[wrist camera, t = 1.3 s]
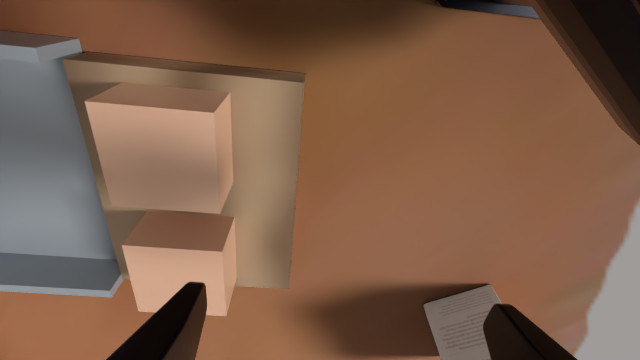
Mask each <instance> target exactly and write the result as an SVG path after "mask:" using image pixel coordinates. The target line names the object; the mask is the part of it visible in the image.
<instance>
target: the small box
mask: <svg viewBox="0 0 640 360" xmlns="http://www.w3.org/2000/svg"><path fill="white" fill-rule="evenodd" d="M496 303H501V304H502V302H501V301H500V299H499V297H498V296H497V294H496V292H495V290H494V288H493V287H492V285H486V286H483V287H479V288H476V289H473V290H470V291H466V292H463V293H459V294H456V295H452V296H449V297H445V298H442V299H439V300H435V301H432V302H429V303H426V304H424V309H425V313H426V316H427V319H428V322H429V325H430V328H431V331H432V334H433V337H434V340H435V343H436V346H437V349H438V352H439V355H440V358H441V360H491V358H490V354H489V350H488V347H487V343H486V339H485V335H484V332H483V323H484V320H485V319H486V317H487V315H488V313H489V311H490V310H491V308H492V306H493V305H494V304H496Z"/></svg>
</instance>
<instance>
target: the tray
mask: <svg viewBox="0 0 640 360" xmlns="http://www.w3.org/2000/svg"><path fill="white" fill-rule="evenodd" d="M79 54H82V48H81V44H80V40H79V38H70V37H61V36H51V35H41V34H31V33H21V32H11V31H2V30H0V291H8V292H26V293H44V294H62V295H80V296H98V297H112V296H113V295H114V293H115V292H116V290H117V289H118V287H119V286H120V284H121V283H122V281H123V280H124V279H122V275H121V271H120V268H119V264H118V260H117V257H116V253H115V250H114V246H113V242H112V239H111V235H110V231H109V228H108V224H107V220H106V217H105V213H104V209H103V206H102V202H101V198H100V195H99V191H98V187H97V184H96V180H95V176H94V173H93V169H92V165H91V162H90V158H89V154H88V151H87V147H86V144H85V140H84V136H83V133H82V129H81V125H80V122H79V118H78V114H77V111H76V107H75V103H74V100H73V96H72V92H71V89H70V85H69V81H68V78H67V74H66V70H65V67H64V63H63V59H65V58H68V57H72V56H75V55H79Z"/></svg>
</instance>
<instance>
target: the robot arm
mask: <svg viewBox="0 0 640 360" xmlns="http://www.w3.org/2000/svg"><path fill="white" fill-rule="evenodd" d="M435 2H436V3H437V4H438V6H441V7H446V8H455V9H464V10H472V11H481V12H490V13H499V14H507V15H516V16H525V17H533V18H540V19H541V20H542V22H543V23H544V24H545V26H546V27H547V29H548V30H549V31H550V33H551V34H552V35H553V37H554V38H555V40H556V41H557V42H558V44H559V45H560V46H561V48H562V49H563V51H564V52H565V53H566V55H567V56H568V57H569V59H570V60H571V62H572V63H573V64H574V66H575V67H576V68H577V70H578V71H579V72H580V74H581V75H582V77H583V78H584V79H585V81H586V82H587V83H588V85H589V86H590V88H591V89H592V90H593V92H594V93H595V94H596V96H597V97H598V99H599V100H600V101H601V103H602V104H603V105H604V107H605V108H606V110H607V111H608V112H609V114H610V115H611V116H612V118H613V119H614V121H615V122H616V123H617V125H618V126H619V127H620V128H621V129H622V130H623V131H624V132H625V133H626V134H628V135H629V136H630V137H631V138H632V139H633V140H634V141H635V142H636V143H638V144H639V145H640V0H447V1H444V0H435ZM206 311H207V294H206V285H205V283H203V282H188V283H186V284H185V285H184V286H183V287H182V288H181V289H180V290H179V291H178V292H177V293H176V294H175V295H174V296H173V297H172V298H171V299H170V300H168V301H167V302H166V303H165V304H164V305H163V306H162V307H161V308H160V309H159V310H158V311H157V312H156V313H155V314H154V315H153V316H152V317H151V318H149V319H148V320H147V321H146V322H145V323H144V324H143V325H142V326H141V327H140V328H139V329H138V330H137V331H136V332H135V333H134V334H133V335H132V336H131V337H129V338H128V339H127V340H126V341H125V342H124V343H123V344H122V345H121V346H120V347H119V348H118V349H117V350H116V351H115V352H114V353H113V354H112V355H111V356H109V357H108V358H107V359H106V360H195V357H196V353H197V349H198V345H199V341H200V337H201V332H202V328H203V324H204V320H205V316H206ZM483 332H484V335H485V339H486V343H487V347H488V350H489V354H490V358H491V360H577V359H576V358H575V357H574V356H572V355H571V354H570V353H569V352H568V351H566V350H565V349H564V348H563V347H562V346H560V345H559V344H558V343H557V342H556V341H554V340H553V339H552V338H551V337H550V336H548V335H547V334H546V333H545V332H544V331H542V330H541V329H540V328H539V327H538V326H536V325H535V324H534V323H533V322H532V321H530V320H529V319H528V318H527V317H526V316H524V315H523V314H522V313H521V312H520V311H518V310H517V309H516V308H515V307H513V306H512V305H510V304H501V303H496V304H494V305H493V306H492V308H491V310H490V311H489V313H488V315H487V317H486V319H485V320H484V323H483Z"/></svg>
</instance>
